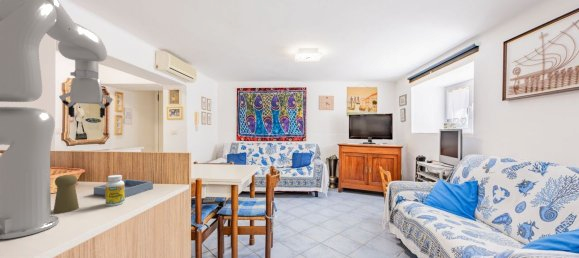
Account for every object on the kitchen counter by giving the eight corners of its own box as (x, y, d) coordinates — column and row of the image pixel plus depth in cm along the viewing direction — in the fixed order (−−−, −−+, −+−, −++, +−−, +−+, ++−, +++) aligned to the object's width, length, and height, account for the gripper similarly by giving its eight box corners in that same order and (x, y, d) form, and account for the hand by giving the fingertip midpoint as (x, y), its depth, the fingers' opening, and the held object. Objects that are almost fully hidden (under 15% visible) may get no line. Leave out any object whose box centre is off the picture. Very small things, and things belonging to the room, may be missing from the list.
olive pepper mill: (63, 213, 74) (63, 177, 74) (48, 212, 75) (47, 176, 75) (83, 207, 80) (83, 173, 80) (69, 205, 81) (68, 173, 81)
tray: (122, 198, 90) (121, 190, 90) (93, 195, 93) (93, 187, 93) (152, 188, 103) (152, 181, 103) (127, 186, 107) (127, 179, 107)
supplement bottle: (123, 200, 88) (122, 173, 88) (126, 203, 84) (125, 176, 84) (104, 203, 84) (104, 175, 84) (106, 207, 80) (106, 178, 80)
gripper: (56, 72, 94) (56, 116, 95) (111, 77, 103) (111, 117, 103) (62, 75, 101) (62, 117, 101) (113, 79, 109) (113, 117, 110)
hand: (87, 117), depth 102 cm, fingers open, 9 cm apart
